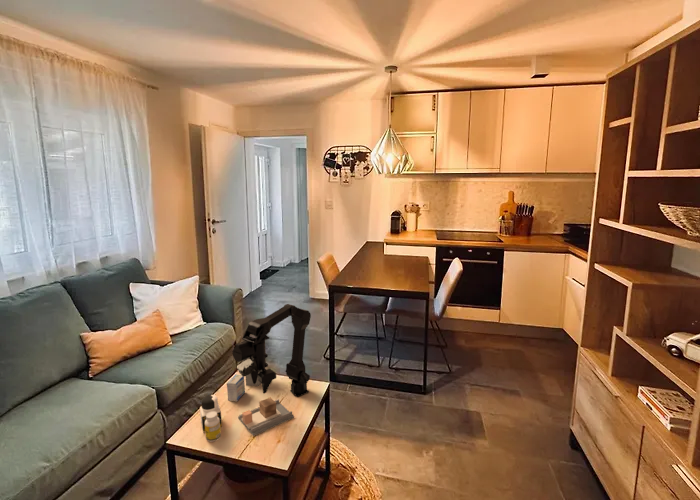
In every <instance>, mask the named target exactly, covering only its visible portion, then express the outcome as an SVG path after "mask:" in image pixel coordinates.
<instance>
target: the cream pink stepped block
mask: <svg viewBox="0 0 700 500" xmlns="http://www.w3.org/2000/svg"><path fill="white" fill-rule="evenodd" d="M241 414H242V421H243V423H244V424H245V425H246V426H247V427H248V428H249V429H250V428H253V427H255V426H257V425H260V424H262V423H264V422H266V421H269V420H271V419H273V418H276V417H278V416H280V415H281V413H280V412H279V411H278V410H277V409H276V414H274V415H272V416H270V417H268V418H265V417H264V416H263V415H262V414H261V413H260V411H259V412H256V413H254V414H252V412H251V410H250V409H248V410H246V411H243V412H241Z"/></svg>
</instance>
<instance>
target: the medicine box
mask: <svg viewBox="0 0 700 500" xmlns="http://www.w3.org/2000/svg"><path fill="white" fill-rule="evenodd" d="M245 386H246V383H245V376H244V377H243V376H242V375H241V374H235V375H234V376H233V377H231V379H229V381H228V382H227V383H226V389H227V401H229V402H230V401H231V402H238V401H239V400H240V398H241V397H242V396H243V395H244V394H245V393H246V388H245Z"/></svg>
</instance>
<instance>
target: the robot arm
mask: <svg viewBox="0 0 700 500" xmlns="http://www.w3.org/2000/svg"><path fill="white" fill-rule="evenodd" d="M289 317H290V318H291V323H292V326H293V329H294V330H293V338H292V339H293V341H292V350H291V352H292V353H291V360H290V361H289V362H288V363H286V365H285V367H286V368H285V370H284V371H285V374H286V376H287V377H288V379H289V380H291V383H290V390H289V392H290V393H291V394H293V395H294V396H295V397H297V398H299V397H301V396H303V395H305V394H308V393H310V392H309V389H308V382H309V381H310V379H311V375H310V374H308V373H307V372H306V365H305V363H304V360H303V357H304V348H305V346H304V345H305V338H306V337H305V336H306V330H307V327H308V326H309V325H310V321H311V317H312V313H311V312H310V311H309V310H307V309H304V308H303V309H302V308H299V307H297V306H295V305H293V304H290V303H286V304H284V305H283V306H282V307H281V308H279V309H277V310H275V311H274V312H272V313H271V314H269V315H267V316H266V317H262V318H256V319H254V320H252V321H250V322H248V325H247V327H246V329H245V331H244V334H243V336H242V338H241V339H242V341H240V342H237V343H236V344H235V347H233V349H232V351H231V352H232V353H231V354H232V357H233V359H234V360H235V362H237V363H239V362H241V363H239V364H237V366H236V369H237V371H238V374H239V375H242V376H243V377H244V378H245V377H246V375H249V374H250V375H251V378H252V381H253V384H255V383H256V381H257V377H258V379H259V380H258V381H259V382H261V388H262V393H263V394H266V393H267V391H268V389H269V388H270V386H271V383H272V382H273V380H276V379H277V373H276V372H275V371H274V370H273V369H271V368H268V367H269V364H268V363H267V358H268V354H267V353H266V341H267V340H269V339H270V336H268V334H269V333H270V332H271V330H272V328H274V327H275V326H276V325H278V324H279V323H281V322H282V321H285V320H286V319H287V318H289ZM266 368H268V369H266ZM258 373H259V374H258Z"/></svg>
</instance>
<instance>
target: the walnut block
mask: <svg viewBox="0 0 700 500" xmlns="http://www.w3.org/2000/svg"><path fill="white" fill-rule="evenodd" d="M258 402H259V403H258V404H259V406H258V407H260V413H261V414H262V415H263V416H264V417H265V418H268V417H270V416H272V415H274V414H276V402H275V400H274V399H273V398H272V397H268V398H265V399H263V400H259V401H258Z"/></svg>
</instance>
